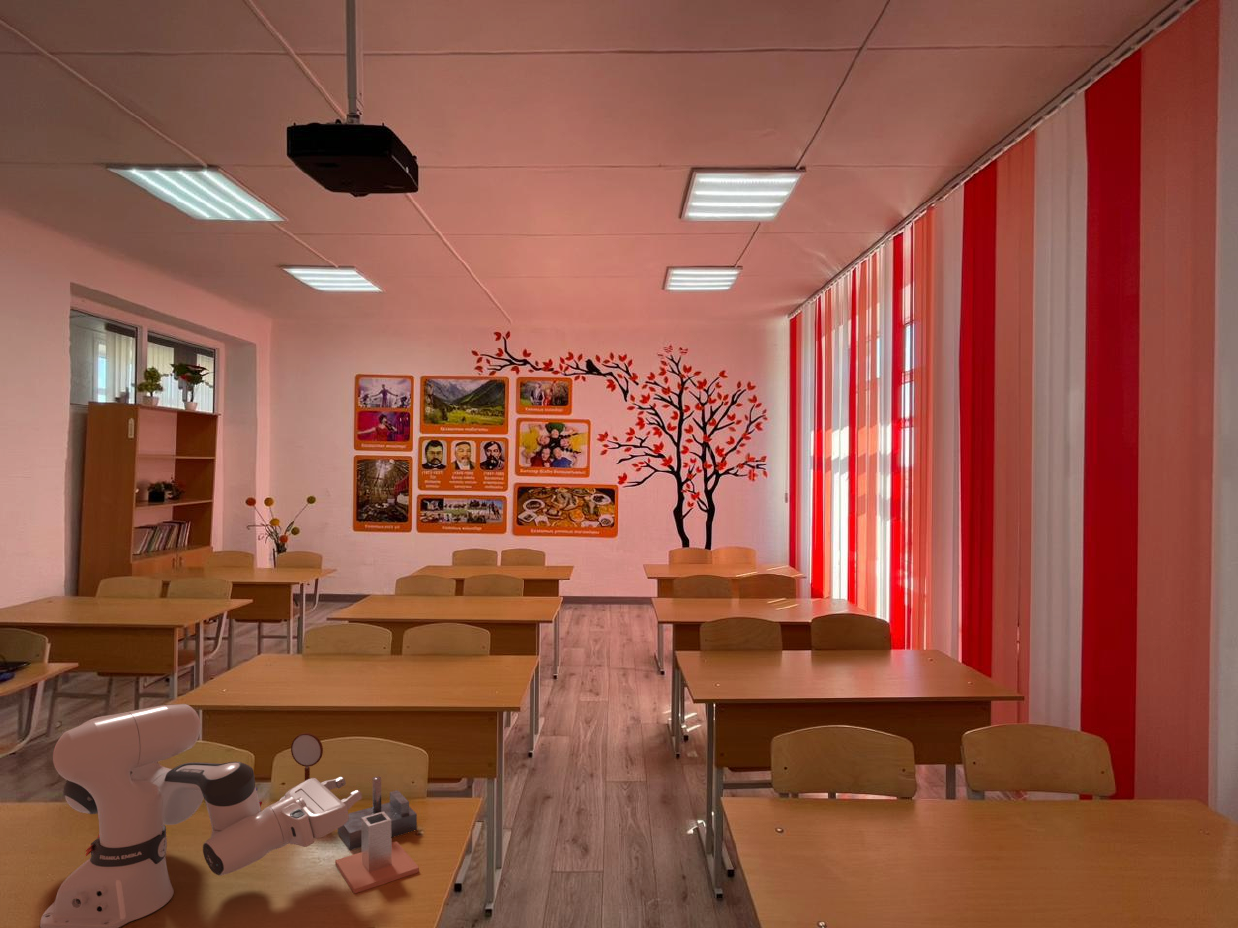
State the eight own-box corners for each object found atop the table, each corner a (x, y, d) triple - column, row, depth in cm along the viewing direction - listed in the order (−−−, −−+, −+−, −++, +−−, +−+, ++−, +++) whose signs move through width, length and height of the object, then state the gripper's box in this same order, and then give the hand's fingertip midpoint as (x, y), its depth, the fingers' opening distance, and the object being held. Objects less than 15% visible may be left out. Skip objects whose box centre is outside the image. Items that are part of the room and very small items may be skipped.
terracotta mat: (354, 893, 159) (354, 888, 159) (335, 864, 171) (335, 859, 171) (419, 871, 167) (419, 867, 167) (396, 845, 179) (396, 841, 179)
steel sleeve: (369, 872, 166) (368, 826, 165) (361, 862, 170) (361, 817, 170) (391, 864, 169) (391, 819, 168) (384, 855, 173) (383, 811, 172)
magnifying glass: (290, 810, 197) (289, 733, 197) (294, 807, 198) (293, 730, 198) (321, 812, 195) (320, 734, 195) (324, 809, 197) (324, 732, 197)
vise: (350, 850, 177) (349, 794, 177) (337, 832, 185) (337, 779, 185) (416, 829, 186) (416, 776, 186) (402, 814, 194) (401, 763, 194)
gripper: (277, 814, 171) (337, 784, 180) (309, 850, 156) (373, 814, 165) (271, 789, 170) (331, 759, 179) (302, 822, 155) (367, 788, 164)
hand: (352, 786), depth 172 cm, fingers open, 8 cm apart
